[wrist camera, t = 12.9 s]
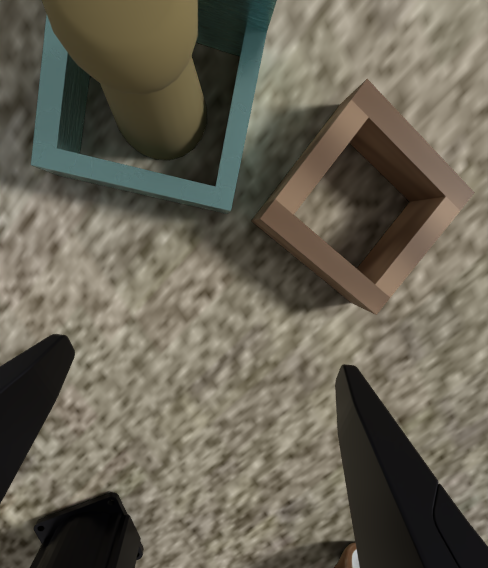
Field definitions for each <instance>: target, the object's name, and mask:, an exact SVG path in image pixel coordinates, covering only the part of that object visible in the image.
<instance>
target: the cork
mask: <svg viewBox="0 0 488 568" xmlns="http://www.w3.org/2000/svg"><path fill="white" fill-rule="evenodd" d="M42 2H43V5H44V8H45V11H46V13H47V16H48V19H49V21H50V24H51V27H52V30H53V32H54V34H55V35H56V37H57V38H58V40H59V41H60V42H61V44H62V45H63V47H64V48H65V49H66V51H67V52H68V54H69V55H70V56H71V58H72V59H73V60H74V61H75V63H76V64H77V65H78V66H79V67H81V68H82V69H83V70H84V71H85V72H87V73H88V74H89V75H90V76H92V77H93V78H94V79H95V80H96V81H98V82H100V84H101V87H102V89H103V92H104V94H105V96H106V99H107V101H108V104H109V106H110V109H111V111H112V113H113V116H114V118H115V121H116V123H117V126H118V128H119V130H120V132H121V133H122V135H123V136H124V138H125V139H126V140H127V142H128V143H129V144H130V145H131V146H132V147H133V148H135V149H136V150H137V151H138V152H140V153H141V154H143V155H146V156H149V157H151V158H154V159H162V160H171V159H175V158H178V157H182V156H184V155H185V154H187V153H188V152H190V151H191V150H193V149H194V148H195V146H196V145H197V144H198V142H199V141H200V140H201V138H202V137H203V133H204V130H205V127H206V124H207V107H206V103H205V100H204V96H203V93H202V90H201V86H200V83H199V79H198V76H197V73H196V69H195V66H194V63H193V59H192V52H193V49H194V46H195V43H196V39H197V36H198V0H42Z"/></svg>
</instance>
